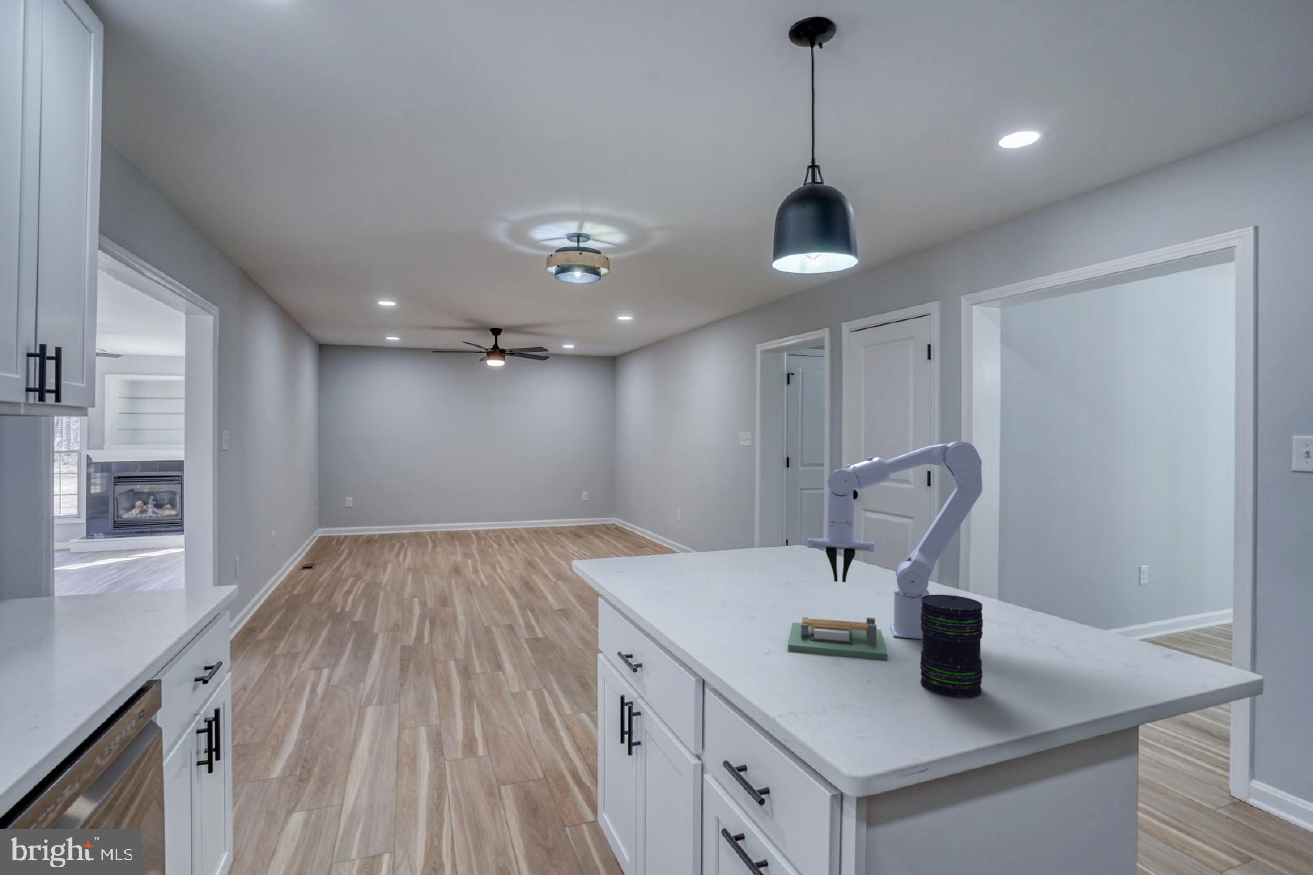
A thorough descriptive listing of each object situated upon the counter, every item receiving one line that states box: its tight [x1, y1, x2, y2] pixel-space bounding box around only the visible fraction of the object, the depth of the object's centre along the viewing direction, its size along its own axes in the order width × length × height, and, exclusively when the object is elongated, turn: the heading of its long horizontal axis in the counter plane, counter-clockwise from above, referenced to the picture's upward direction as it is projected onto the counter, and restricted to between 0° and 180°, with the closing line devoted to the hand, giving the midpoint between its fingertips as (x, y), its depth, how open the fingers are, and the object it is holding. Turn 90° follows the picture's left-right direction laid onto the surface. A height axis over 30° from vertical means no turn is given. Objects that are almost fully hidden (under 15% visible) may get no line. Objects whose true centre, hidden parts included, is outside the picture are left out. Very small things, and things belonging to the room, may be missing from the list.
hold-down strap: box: [801, 617, 873, 631], centre depth 134 cm, size 15×3×2 cm, turn 75°
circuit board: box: [787, 616, 888, 661], centre depth 134 cm, size 19×16×5 cm
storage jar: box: [919, 594, 984, 700], centre depth 111 cm, size 10×10×15 cm
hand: (839, 581), depth 145 cm, fingers closed
